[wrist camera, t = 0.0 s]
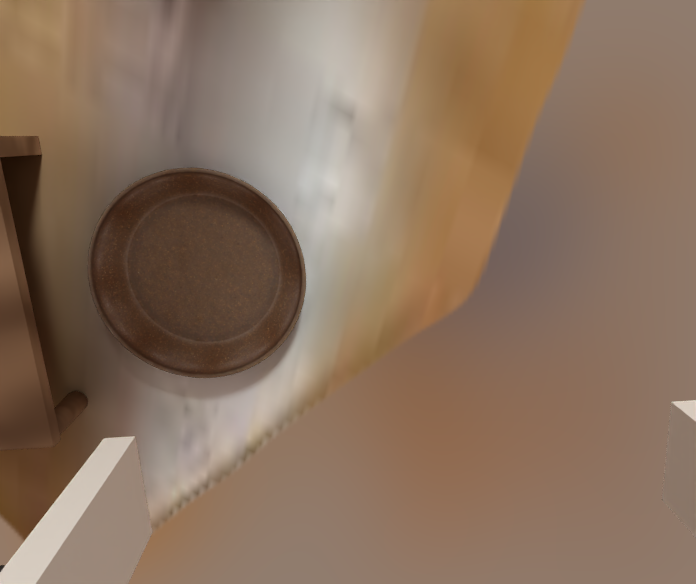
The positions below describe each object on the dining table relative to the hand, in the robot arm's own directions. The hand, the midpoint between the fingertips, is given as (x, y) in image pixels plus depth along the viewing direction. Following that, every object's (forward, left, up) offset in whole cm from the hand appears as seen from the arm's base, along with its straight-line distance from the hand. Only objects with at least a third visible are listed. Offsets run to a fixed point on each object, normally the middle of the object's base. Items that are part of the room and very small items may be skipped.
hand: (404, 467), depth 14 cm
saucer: (+1, -11, -28) cm, 31 cm away
